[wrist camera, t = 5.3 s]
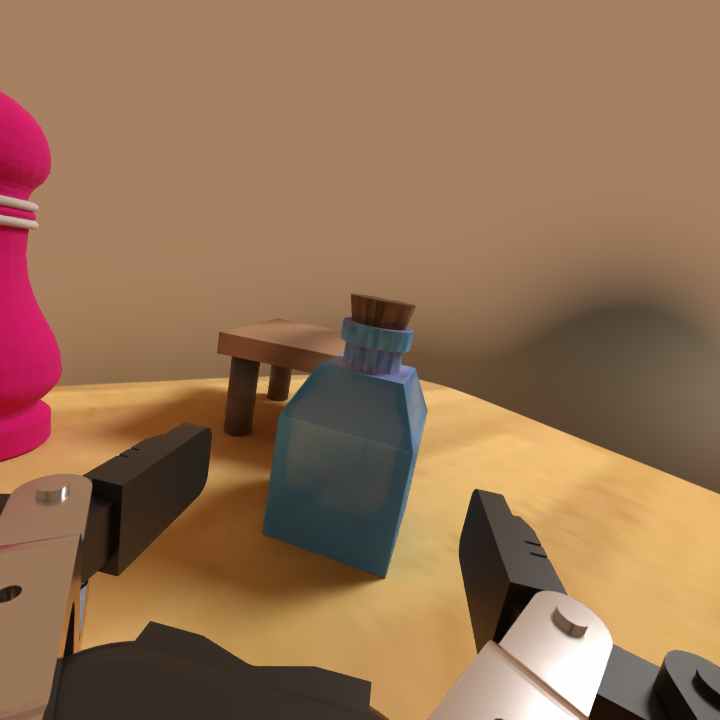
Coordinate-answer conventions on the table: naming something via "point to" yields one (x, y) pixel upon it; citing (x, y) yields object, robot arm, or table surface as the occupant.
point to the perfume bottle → (350, 444)
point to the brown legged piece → (270, 362)
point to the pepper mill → (22, 289)
